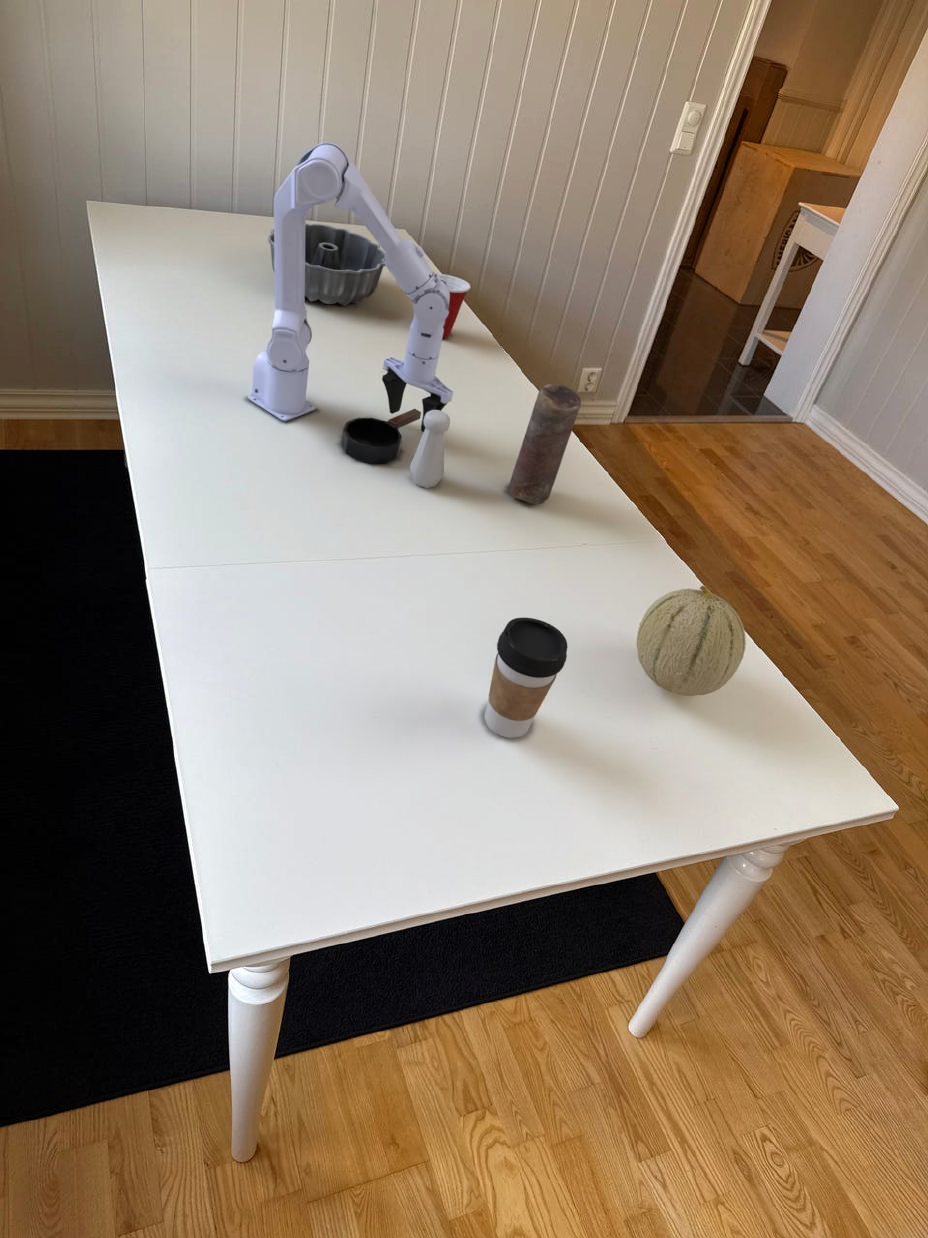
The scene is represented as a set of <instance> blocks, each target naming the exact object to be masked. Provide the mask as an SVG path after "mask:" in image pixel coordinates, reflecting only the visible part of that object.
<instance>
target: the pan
mask: <svg viewBox="0 0 928 1238" xmlns="http://www.w3.org/2000/svg"><path fill="white" fill-rule="evenodd" d="M421 415H422V412H421V411H419V410H418V409H416V408H413V409H410V410H408V411H406V412H404V413H403V412H402V413H401V414H399V415H397V416H394V417H392V418H390V419H388V420H383V419H380V418H375V417H356V418H353V419H350V420H348V421H347V422H345V425H344V426H343V429H342V435H341V442H340V445H341V448H342V449H343V451H344V453H345V454H346V455H347V456H349V457H351V458H352V459H354V460H356V461H357V462H362V463H366V464H369V465H386V464H388V463H391V462H393V461H395V460H397V459H398V456H399V454H400V451H401V446H402V445H401V444H402V438H403V435H402V433H401V431H400V430H399V429H401V428H402V427H405V426H407V425H410V424H412V423H414V422H416V421H418V420H420V419H421Z"/></svg>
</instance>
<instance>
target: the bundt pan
mask: <svg viewBox="0 0 928 1238" xmlns="http://www.w3.org/2000/svg"><path fill="white" fill-rule="evenodd" d="M267 238H268V239H267V241H268V243H269V245H270V256H271V257H270V258H271V267H272V271H273V273H274V274H275V253H274V228H272V229H271V230H270V234H269V235H268V237H267ZM385 255H386V253H385V251H384V250H383V249H382V248H381V246H380V245H379V244H377V243H376V242H372V240H371V239H369V238H368V237H366V236H365V235H361V234H358V233H355V232H351V231H349V230H347V229H346V228H337V227H335V226H331V225H329V224H321V223H307V222H305V297H306V298H307V299H308V300H309V301H310V302H315V301H318V300H319V301H320V302H321V303H323V304H326V305H334V304H336V303H337V304H339V305H341V306H347V305H348V304H349V303H352V304H353V303H360V302H362V301H363V300H365V299H367V298H369V297H370V296H372V295H373V294H374V293H375V291H376V290H377V288H378V285H379V281H380V278H381V275H382V272H383V269H384V267H386V266H385Z"/></svg>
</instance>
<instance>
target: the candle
mask: <svg viewBox="0 0 928 1238" xmlns="http://www.w3.org/2000/svg"><path fill="white" fill-rule="evenodd" d="M581 406H582V401H581V396H580V395H579V394H578V392H576V391H574V390H573V389H571V388H570V387H568V386H566V385H564V384H555V383H549V384H545V385H544V386H542V387H541V388H540V389H539V391H538V393H537V396H536V399H535V402H534V406H533V408H532V412H531V415H530V418H529V421H528V424H527V427H526V431H525V433H524V437H523V439H522V443H521V446H520V449H519V453H518V456H517V459H516V461H515V464H514V468H513V471H512V474H511V477H510V481H509V484H508V487H507V489H508V493H509V495H510V496H512V497H513V498H516V499H517V500H523V501H524V502H525V503H527V504H528V503H529V504H531V505H538V504H543V503H544V502H546V501H547V500H548V499H550V496H551V493H552V490H553V487H554V484H555V482H556V479H557V475H558V473H559V469H560V468H561V464H562V461H563V458H564V455H565V452H566V449H567V446H568V444H569V440H570V437H571V434H572V432H573V428H574V426H575V423H576V420H577V417H578V414H579V411H580V409H581Z"/></svg>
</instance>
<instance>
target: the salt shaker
mask: <svg viewBox="0 0 928 1238" xmlns="http://www.w3.org/2000/svg"><path fill="white" fill-rule="evenodd" d="M423 423H424V426H425V427H426V428H425V431H424V432H422V436H421V438H420V441H419V443H418V445H417V448H416V449H415V450H416V451H415V453H414V455H413V458H412V460H411V463H410V465H409V471H410V475H411V479H412V481H413V482H414V483H415V485H416V486H419V487H422V488H425V489H430V488H433V487H436V486H437V485H438V484H439V482H440V481H441V480H442V478H443V475H444V473H445V432H447V431H448V430H449V428H450V425H451V418H450V416H449V415H448V413H446V412H444V411H443V410H441V411H439V410H431V411H429V412H427V413H426V415H425V417H424V421H423Z"/></svg>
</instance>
